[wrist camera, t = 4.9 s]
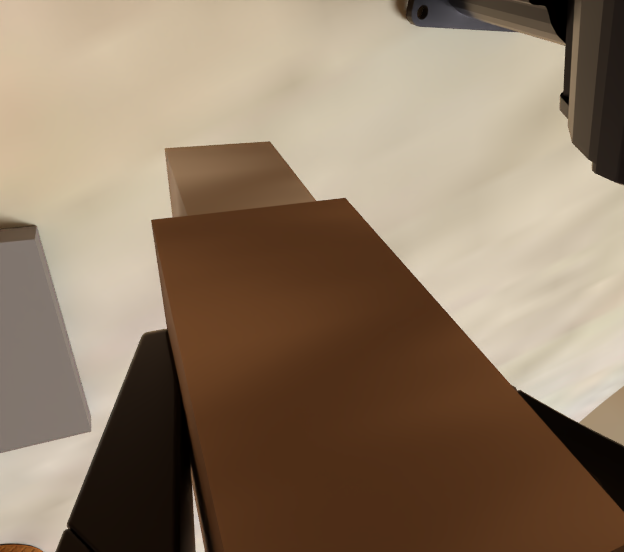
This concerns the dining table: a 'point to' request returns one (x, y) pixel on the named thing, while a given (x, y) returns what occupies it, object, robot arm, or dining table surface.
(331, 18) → the dining table surface
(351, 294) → the brown wooden block
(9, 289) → the rest mat
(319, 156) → the dining table surface
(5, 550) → the disposable coffee cup
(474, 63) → the dining table surface
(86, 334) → the dining table surface
